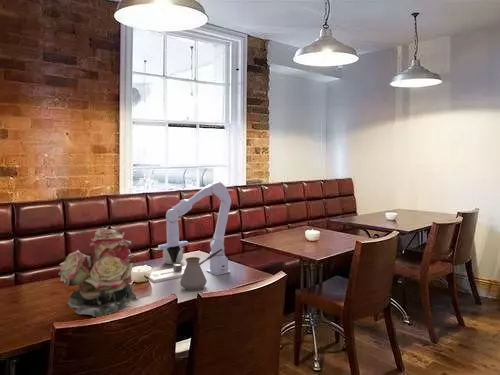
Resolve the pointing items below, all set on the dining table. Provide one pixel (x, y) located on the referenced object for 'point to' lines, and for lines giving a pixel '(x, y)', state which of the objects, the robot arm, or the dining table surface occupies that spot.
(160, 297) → the dining table surface
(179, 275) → the plate
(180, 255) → the teacup
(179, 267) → the breaker handle
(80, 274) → the rose bouquet
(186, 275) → the coffee pot
